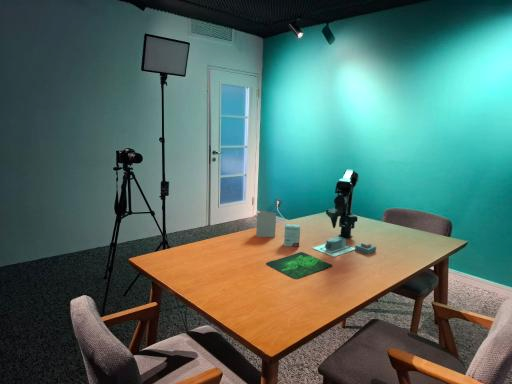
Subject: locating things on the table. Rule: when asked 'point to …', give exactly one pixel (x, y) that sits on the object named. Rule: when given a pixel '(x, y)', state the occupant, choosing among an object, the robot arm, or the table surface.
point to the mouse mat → (298, 265)
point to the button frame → (365, 249)
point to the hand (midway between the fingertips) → (339, 230)
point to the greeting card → (266, 224)
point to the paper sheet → (335, 252)
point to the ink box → (292, 235)
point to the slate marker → (335, 243)
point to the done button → (366, 244)
